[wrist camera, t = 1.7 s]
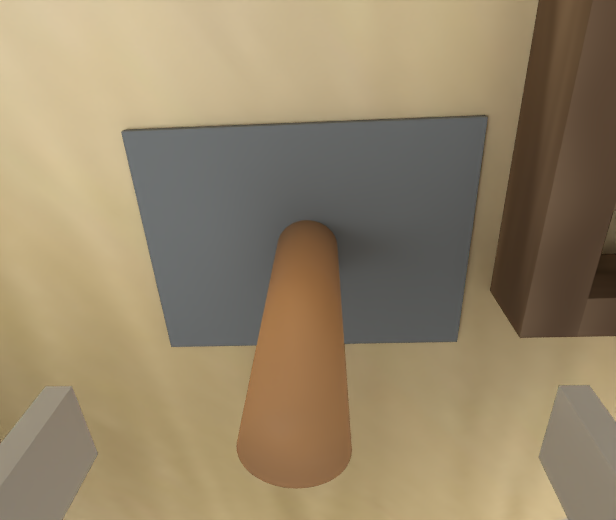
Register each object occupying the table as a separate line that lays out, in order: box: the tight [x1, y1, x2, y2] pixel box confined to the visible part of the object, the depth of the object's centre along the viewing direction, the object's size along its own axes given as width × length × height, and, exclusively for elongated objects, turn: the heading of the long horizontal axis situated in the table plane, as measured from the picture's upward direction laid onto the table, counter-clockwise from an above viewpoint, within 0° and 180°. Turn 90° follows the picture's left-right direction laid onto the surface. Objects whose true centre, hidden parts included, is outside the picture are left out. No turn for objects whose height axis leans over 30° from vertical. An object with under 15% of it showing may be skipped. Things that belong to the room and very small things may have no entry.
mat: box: [121, 115, 488, 347], centre depth 22 cm, size 16×12×1 cm
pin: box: [237, 220, 352, 488], centre depth 17 cm, size 3×3×12 cm
